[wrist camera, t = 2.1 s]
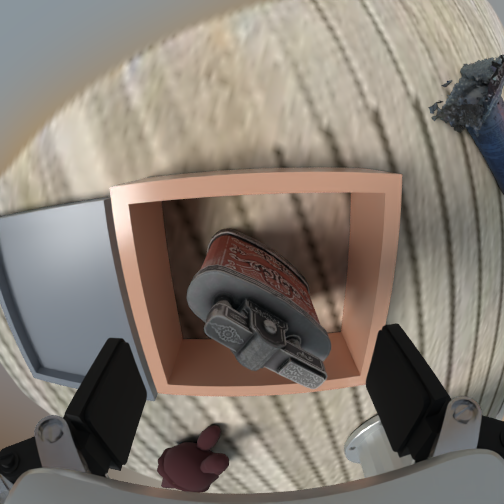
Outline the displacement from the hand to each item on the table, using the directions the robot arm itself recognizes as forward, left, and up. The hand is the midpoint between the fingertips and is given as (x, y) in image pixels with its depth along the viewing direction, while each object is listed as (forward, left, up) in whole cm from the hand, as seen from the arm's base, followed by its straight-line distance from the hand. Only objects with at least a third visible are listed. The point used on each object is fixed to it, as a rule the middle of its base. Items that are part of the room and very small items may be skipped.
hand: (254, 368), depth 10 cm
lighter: (0, +1, -11) cm, 11 cm away
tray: (+18, +4, -11) cm, 21 cm away
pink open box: (0, +1, -11) cm, 11 cm away
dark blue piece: (-20, -10, -12) cm, 25 cm away
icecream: (+8, +24, -11) cm, 28 cm away
